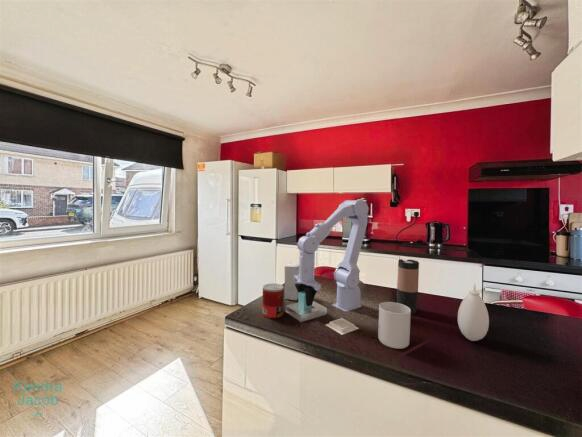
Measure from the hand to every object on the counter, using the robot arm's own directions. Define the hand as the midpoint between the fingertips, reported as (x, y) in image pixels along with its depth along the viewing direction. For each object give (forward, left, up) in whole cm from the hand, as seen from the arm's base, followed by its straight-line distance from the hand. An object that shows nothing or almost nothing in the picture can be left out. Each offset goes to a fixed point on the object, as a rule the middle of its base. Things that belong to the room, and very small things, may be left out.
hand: (306, 303), depth 96 cm
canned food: (+11, -6, -4) cm, 13 cm away
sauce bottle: (-34, +42, -4) cm, 54 cm away
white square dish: (-4, +15, -4) cm, 16 cm away
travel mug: (-37, +18, -4) cm, 41 cm away
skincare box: (-6, -18, -4) cm, 19 cm away
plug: (+1, 0, -2) cm, 2 cm away
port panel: (0, 0, -4) cm, 4 cm away
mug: (-12, +29, -4) cm, 32 cm away
